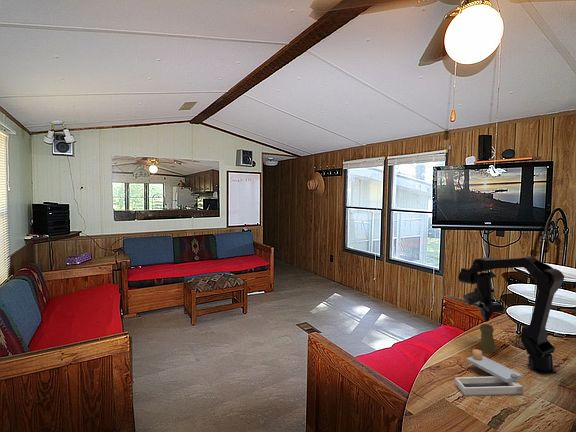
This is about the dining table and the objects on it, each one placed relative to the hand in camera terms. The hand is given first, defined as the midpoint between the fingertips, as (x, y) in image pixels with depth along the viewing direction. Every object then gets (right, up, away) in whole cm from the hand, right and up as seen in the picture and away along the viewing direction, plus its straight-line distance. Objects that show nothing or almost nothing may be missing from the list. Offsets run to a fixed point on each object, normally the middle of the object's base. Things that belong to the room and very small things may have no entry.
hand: (486, 321), depth 139 cm
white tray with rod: (-17, -14, -28) cm, 36 cm away
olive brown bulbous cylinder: (+1, -13, 0) cm, 13 cm away
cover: (-11, -11, -21) cm, 26 cm away
